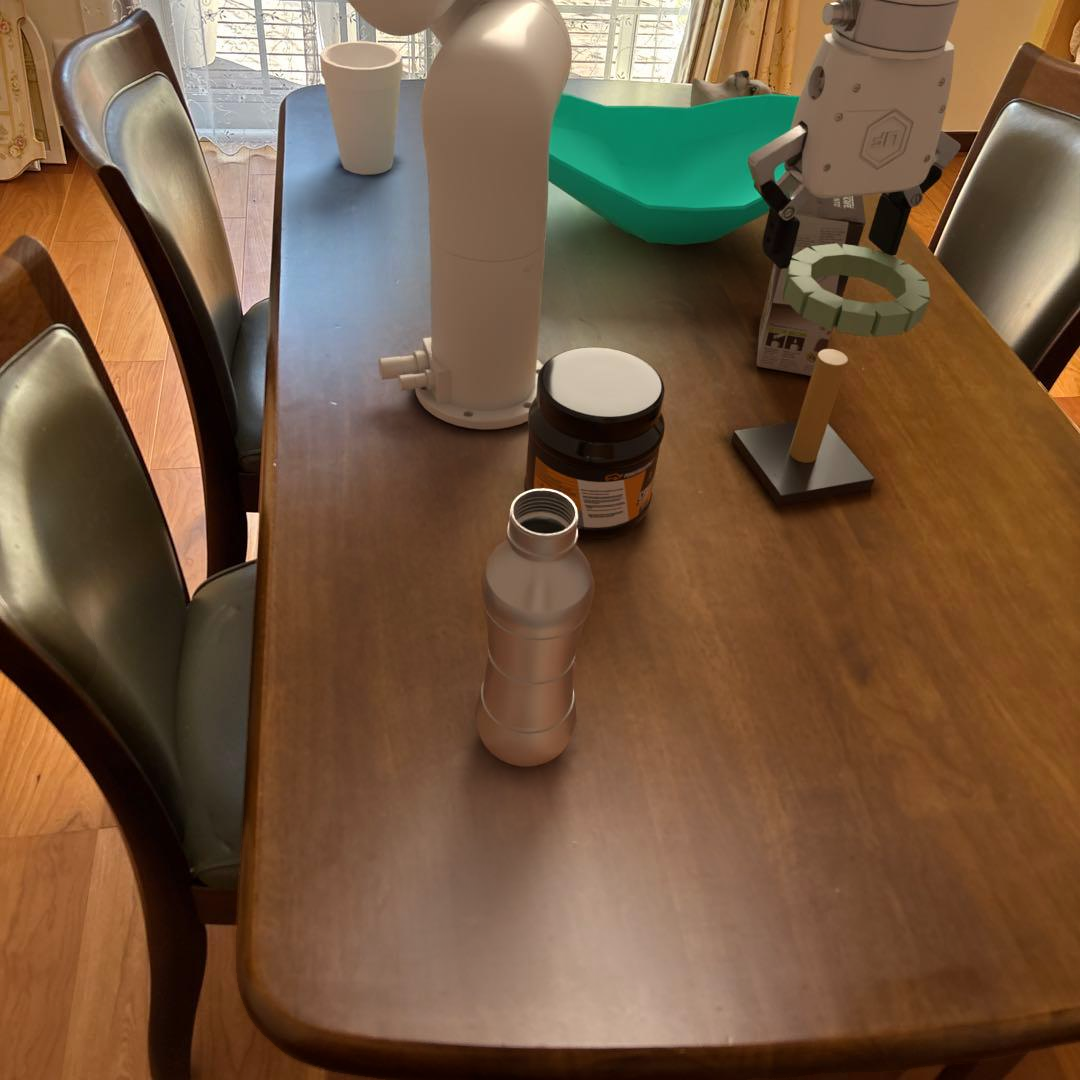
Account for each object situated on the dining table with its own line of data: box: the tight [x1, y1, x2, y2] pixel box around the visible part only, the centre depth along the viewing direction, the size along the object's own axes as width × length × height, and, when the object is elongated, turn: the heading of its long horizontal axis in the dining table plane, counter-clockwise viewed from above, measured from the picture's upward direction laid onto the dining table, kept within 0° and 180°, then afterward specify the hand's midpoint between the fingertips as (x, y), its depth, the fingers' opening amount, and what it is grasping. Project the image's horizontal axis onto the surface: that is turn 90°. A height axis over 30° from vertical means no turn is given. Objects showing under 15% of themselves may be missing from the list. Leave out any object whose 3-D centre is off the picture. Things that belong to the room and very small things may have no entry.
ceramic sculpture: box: [689, 69, 773, 107], centre depth 140 cm, size 11×9×15 cm
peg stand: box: [731, 348, 875, 507], centre depth 86 cm, size 9×9×11 cm
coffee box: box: [756, 183, 866, 377], centre depth 98 cm, size 9×6×16 cm
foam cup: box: [319, 40, 404, 176], centre depth 124 cm, size 10×9×13 cm
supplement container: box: [523, 346, 666, 540], centre depth 80 cm, size 10×10×12 cm
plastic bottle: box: [475, 489, 595, 768], centre depth 60 cm, size 6×7×20 cm
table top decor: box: [548, 92, 800, 246], centre depth 116 cm, size 40×28×13 cm
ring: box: [782, 244, 931, 338], centre depth 78 cm, size 11×11×2 cm
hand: (829, 253), depth 80 cm, fingers closed on ring, 9 cm apart
